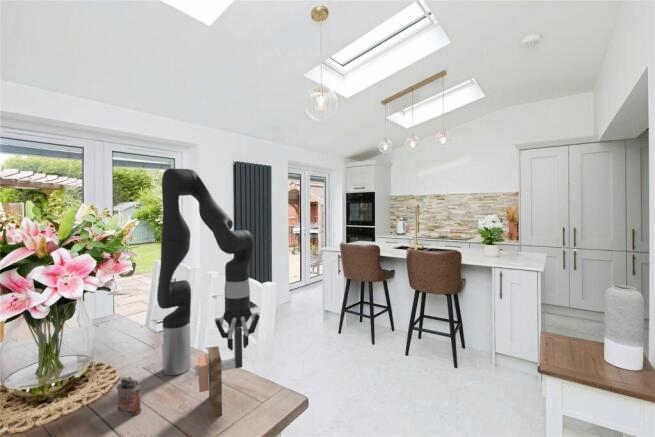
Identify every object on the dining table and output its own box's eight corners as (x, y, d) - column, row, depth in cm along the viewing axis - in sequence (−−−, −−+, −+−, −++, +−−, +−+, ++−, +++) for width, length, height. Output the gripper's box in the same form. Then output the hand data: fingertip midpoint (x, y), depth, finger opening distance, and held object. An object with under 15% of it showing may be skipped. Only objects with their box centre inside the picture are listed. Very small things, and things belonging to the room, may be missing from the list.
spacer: (199, 392, 90) (199, 366, 90) (198, 379, 97) (198, 355, 97) (208, 390, 91) (208, 364, 91) (207, 377, 98) (207, 353, 98)
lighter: (114, 411, 93) (113, 378, 93) (125, 404, 96) (124, 373, 96) (133, 417, 90) (133, 383, 90) (144, 410, 93) (143, 377, 93)
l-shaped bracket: (195, 377, 92) (194, 336, 91) (195, 372, 94) (194, 332, 94) (242, 367, 97) (241, 329, 97) (240, 363, 100) (240, 325, 99)
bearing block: (211, 417, 90) (210, 363, 89) (209, 396, 100) (208, 347, 100) (222, 415, 91) (221, 361, 91) (218, 394, 101) (218, 346, 101)
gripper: (257, 288, 104) (258, 339, 104) (212, 293, 98) (213, 347, 98) (262, 294, 97) (263, 349, 97) (214, 300, 91) (215, 357, 92)
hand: (238, 347), depth 98 cm, fingers open, 3 cm apart
